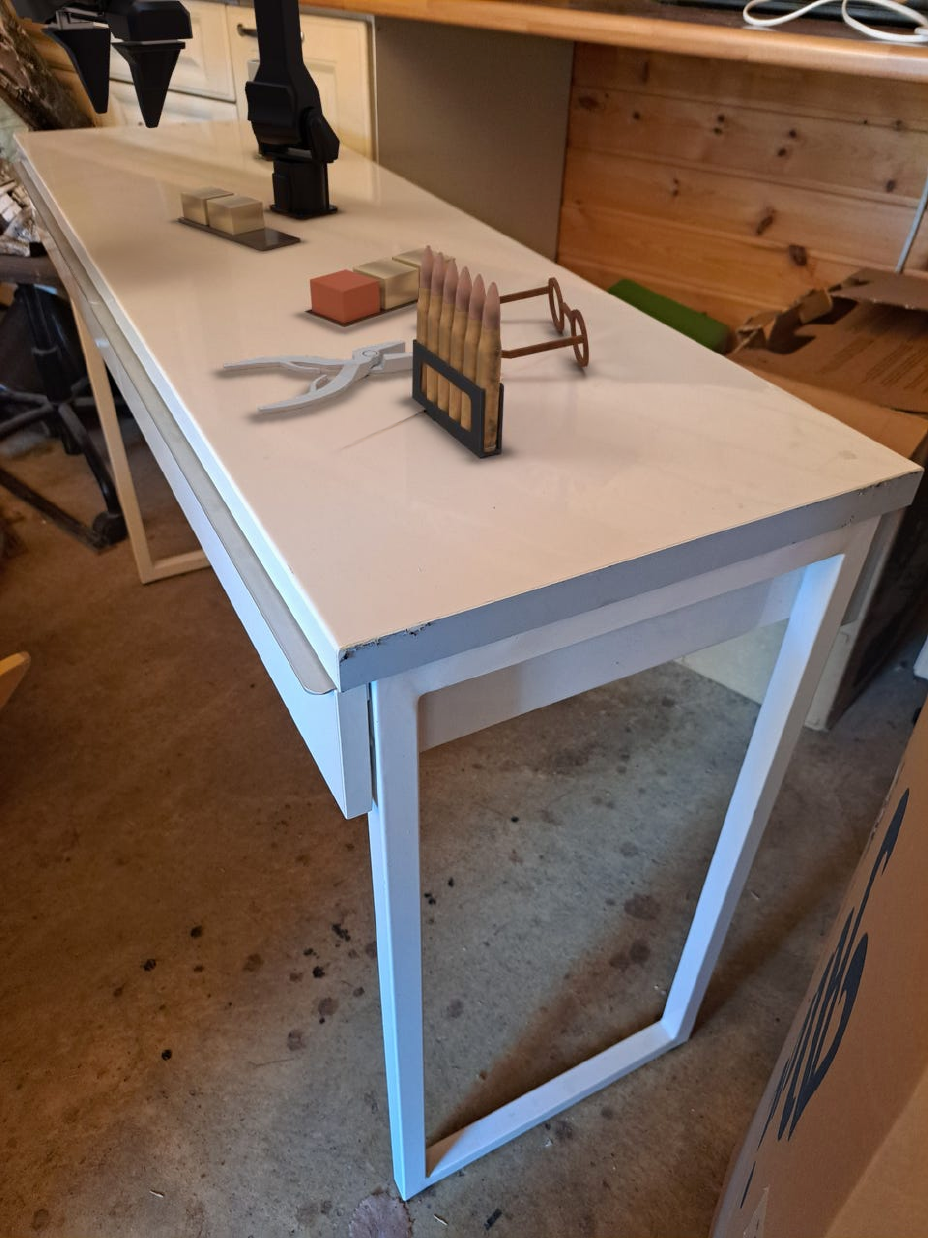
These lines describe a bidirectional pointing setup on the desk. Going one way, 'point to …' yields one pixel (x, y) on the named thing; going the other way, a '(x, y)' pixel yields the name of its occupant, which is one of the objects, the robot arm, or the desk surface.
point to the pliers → (362, 364)
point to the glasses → (558, 324)
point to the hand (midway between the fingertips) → (126, 120)
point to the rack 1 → (231, 218)
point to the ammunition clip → (459, 354)
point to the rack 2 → (392, 282)
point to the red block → (345, 296)
